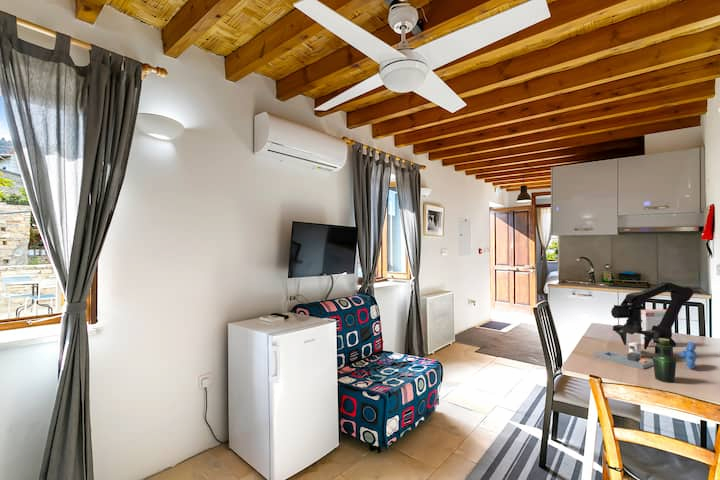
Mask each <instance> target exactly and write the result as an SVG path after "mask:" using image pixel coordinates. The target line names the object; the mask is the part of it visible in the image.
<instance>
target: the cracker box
mask: <svg viewBox="0 0 720 480" xmlns="http://www.w3.org/2000/svg"><path fill="white" fill-rule="evenodd" d="M666 310H667V309H663V308H661V309H654V308H653V309H652V308H651V309H650V308H649V309H646V308H645V310H641V320H642V322H641V328H643V330H642V331H647V330H652V327H653V325H655V326H657V325H659V324H660V322H661V320H662V318H663V316H664V314H665V312H666ZM671 331H672V332H673V327H672V328H671ZM639 337H640V344H641V346H644V337H645V336H644V334H639ZM671 339H673V336H672V337H671ZM655 346H656V343H654V342H653V339H652V340H651V341H650V343H649V345H648V347H649V348H651V347H653V348H655ZM648 347H647V348H648Z"/></svg>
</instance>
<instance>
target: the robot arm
mask: <svg viewBox="0 0 720 480" xmlns="http://www.w3.org/2000/svg"><path fill="white" fill-rule="evenodd" d="M666 292H669V293H670V302H669V305H668V307H667V308H666V309H665V310H666V312H665V314H664V316H663V318H662V320H661V322H660V324H659V325H657V326H655V325H653V327H652V330H647V331H642V330H643V328H641V322H642V320H641V310H645V309H646V308H645V307H644V306H643V305H644V304H646V303H647V301H648V300H649V299H652V298H654V297H656V296H658V295H660V294H663V293H666ZM693 296H694V291H693V290H692V288H691V287H689V286H683V285H682V286H681V285H678V284H675V283H673V282H668V281H662V282H660V283H658V284H656V285H653V286H652V287H649V288H647V289H644V290H642V291H637V292H635V291H634V292H630V293H628V294H626V295H625V297H624V299H623V300H622V302H621V303H620V305H619V304H618V305H617V304H614V305H613V307H612V308H611V311H610V312H611V316H612V318H614V319H626V321H625V323H624V324H623V325H622V324H615V325H613V326H612V331H613V332H615V333H616V334H618V335H619V338H621V341H622V342H623V345H624V346H626V345H627V337H628V336H627V334H629V335H634V334H639V335H640V334H644V336H645V337H644V345H643V349H644V350H647V349H648V345H649V343H650V341H651V340H652V339H653V342H654V343H656V344H657V343H659V338H664V339H669V340H670V341H669V344H670V345H672V347H673V349H670V350H669V353H668V354H670V355H671V356H673V357H675V355H674V348H675V347H676V346H677V342H676V341H675V340H674V339H673V330H672V331H671V328H672V329H673V326H674V324H675V321H676V319H677V317H678V315H679V313H680V312H681V310H682V307H683V305H684V304H685V303H687V302H689V301H690V300H691V299H692V297H693ZM671 337H672V339H671ZM657 353H660V350H659V348H658V347H656V346H655V347H654V354H657Z"/></svg>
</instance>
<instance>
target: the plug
mask: <svg viewBox="0 0 720 480" xmlns="http://www.w3.org/2000/svg"><path fill="white" fill-rule="evenodd" d="M641 346H642V344H641V342H640V343H639V342H634V341H632V342H628V353H631V352H634V353H638V354H640V358H641V357H642V355H641V354H642V350H641V349H642V347H641Z"/></svg>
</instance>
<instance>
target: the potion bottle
mask: <svg viewBox="0 0 720 480" xmlns="http://www.w3.org/2000/svg"><path fill="white" fill-rule="evenodd" d="M669 341H670V340H669V339H664V338H659V343H657V344H656V347H658V348H659V350H660V353H657V354H655V353H654V354H653V355H652V361H653V370H654V378H655V379H656V380H657V381H660V382H663V383H674V382H675V381H676V380H675V379H676V369H677V368H676V367H677V361H678V360H677V359H676V358H675V357H673V356H674V355H673V356H671V355H670V354H668V353H669V350H670V349H673V350H674V347H672V345H670V344H669Z"/></svg>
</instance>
